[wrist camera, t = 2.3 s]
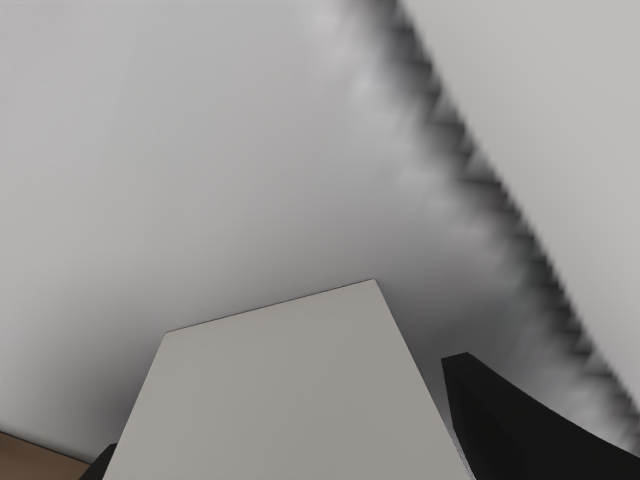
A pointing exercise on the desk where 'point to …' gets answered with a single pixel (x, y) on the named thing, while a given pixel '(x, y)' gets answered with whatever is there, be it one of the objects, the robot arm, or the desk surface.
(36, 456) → the duct base
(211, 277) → the desk surface
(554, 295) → the desk surface
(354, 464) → the sleeve
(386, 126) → the desk surface
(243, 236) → the desk surface
